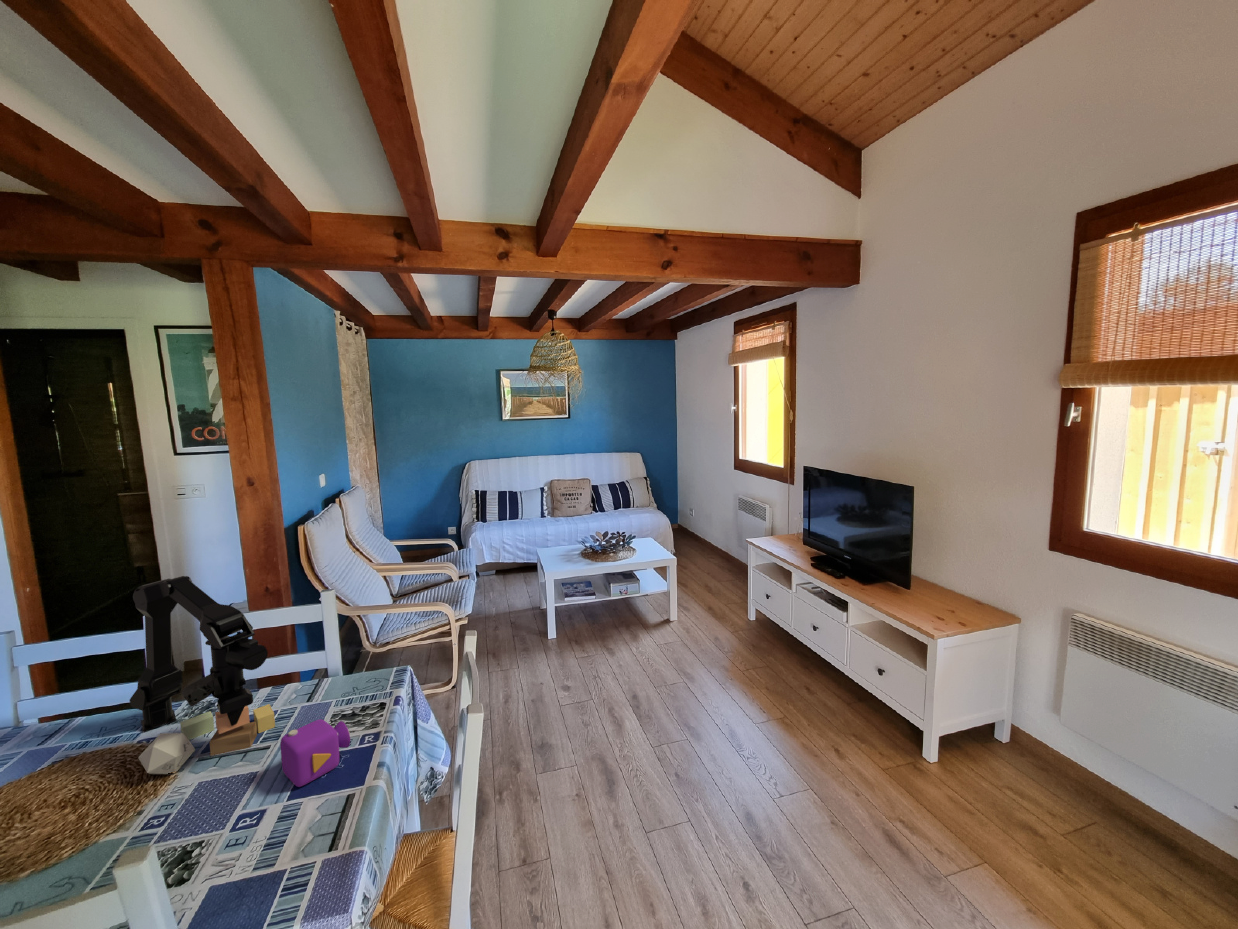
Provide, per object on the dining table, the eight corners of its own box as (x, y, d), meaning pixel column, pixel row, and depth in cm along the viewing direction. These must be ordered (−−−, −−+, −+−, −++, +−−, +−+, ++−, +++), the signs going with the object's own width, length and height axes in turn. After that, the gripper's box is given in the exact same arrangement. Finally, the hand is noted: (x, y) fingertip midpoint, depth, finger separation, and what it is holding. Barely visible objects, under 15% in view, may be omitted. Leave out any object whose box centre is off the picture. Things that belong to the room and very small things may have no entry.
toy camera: (360, 754, 116) (358, 716, 115) (303, 794, 104) (300, 751, 103) (331, 741, 121) (329, 704, 120) (274, 778, 108) (270, 737, 107)
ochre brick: (258, 733, 124) (257, 719, 124) (254, 723, 128) (253, 709, 128) (275, 727, 127) (274, 713, 126) (270, 717, 131) (269, 704, 130)
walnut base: (218, 744, 120) (217, 729, 120) (257, 736, 123) (255, 721, 123) (210, 756, 116) (209, 741, 115) (250, 748, 119) (249, 733, 118)
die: (148, 793, 105) (181, 749, 107) (119, 769, 106) (152, 727, 109) (181, 778, 113) (211, 738, 116) (154, 757, 114) (184, 717, 117)
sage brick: (181, 736, 123) (180, 722, 123) (211, 725, 128) (210, 711, 127) (183, 742, 121) (182, 727, 120) (214, 730, 125) (213, 716, 125)
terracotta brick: (216, 727, 118) (215, 712, 118) (246, 716, 123) (245, 702, 122) (219, 734, 116) (217, 718, 115) (249, 722, 120) (248, 707, 120)
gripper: (178, 661, 118) (184, 720, 119) (188, 690, 105) (195, 756, 107) (235, 645, 126) (240, 701, 127) (251, 670, 113) (256, 732, 115)
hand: (232, 721), depth 119 cm, fingers closed on terracotta brick, 4 cm apart
